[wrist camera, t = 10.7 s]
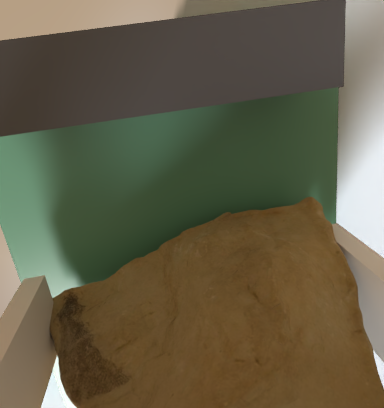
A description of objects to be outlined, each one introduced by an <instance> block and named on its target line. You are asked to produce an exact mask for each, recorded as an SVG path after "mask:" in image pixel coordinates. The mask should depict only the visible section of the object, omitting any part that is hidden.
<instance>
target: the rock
mask: <svg viewBox="0 0 384 408" xmlns="http://www.w3.org/2000/svg"><path fill="white" fill-rule="evenodd" d="M52 299H53V309H52V315H51V320H50V332H51V335H52V337H53V339H54V344H55V351H56V354H57V357H58V364H59V372H60V379H61V382H62V385H63V388H64V390H65V393H66V395H67V396H68V398H69V399H70V401H71V402H72V404H73V405H74V406H75V407H76V408H384V389H383V386H382V383H381V380H380V377H379V374H378V371H377V367H376V363H375V359H374V354H373V347H372V345H371V343H370V340H369V338H368V336H367V334H366V331H365V329H364V325H363V317H362V312H361V310H360V307H359V301H358V286H357V283H356V280H355V278H354V275H353V273H352V271H351V269H350V267H349V265H348V262H347V259H346V257H345V256H344V254H343V252H342V251H341V249H340V247H339V246H338V244H337V242H336V240H335V236H334V232H333V226H332V224H331V222H329V221H328V220H327V219H326V218H325V216H324V213H323V207H322V205H321V203H319V202H318V201H317V200H316V199H314V198H313V197H307V198H305V199H303V200H302V201H300V202H299V203H297V204H295V205H290V206H282V207H275V208H269V209H266V210H247V211H243V212H238V213H234V214H231V213H230V212H226V213H224V214H222V215H221V216H219V217H217V218H216V219H214V220H212V221H209V222H207V223H205V224H202V225H199V226H196V227H194V228H190V229H187V230H185V231H183V232H182V233H181V234H180V235H179V236H177V237H175V238H173V239H171V240H168V241H167V242H165V243H163V244H162V245H161V246H160V247H159V249H158V250H156V251H153V252H151V253H149V254H147V255H146V256H144V257H140V258H135V259H134V260H132V261H131V262H129V263H127V264H126V265H124V266H123V267H121V268H120V269H119V270H118V271H117V272H116V273H115V274H113V275H112V276H110V277H109V278H107V279H105V280H103V281H98V282H93V283H89V284H86V285H83V286H80V287H74V288H70V289H68V290H64V291H63V292H62V293H60V294H59V295H57V296H56V297H54V298H52Z"/></svg>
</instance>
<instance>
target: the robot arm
mask: <svg viewBox="0 0 384 408" xmlns="http://www.w3.org/2000/svg"><path fill="white" fill-rule="evenodd" d="M332 226H333V232H334V236H335V240H336V242H337V244H338V246H339V247H340V249H341V251H342V252H343V254H344V256H345V257H346V259H347V262H348V265H349V267H350V269H351V271H352V273H353V275H354V278H355V280H356V283H357V286H358V301H359V307H360V310H361V312H362V317H363V325H364V329H365V331H366V334H367V336H368V338H369V340H370V343H371V345H372V347H373V350H374V351H375V352H376V354H377V355H378V356H379V357H380V358H381V359H382V361H383V362H384V258H383V257H381V256H380V255H379V254H377V253H376V252H375V251H373V250H372V249H371V248H369V247H368V246H367V245H365V244H364V243H363V242H361V241H360V240H359V239H357V238H356V237H355V236H353V235H352V234H351V233H349V232H348V231H347V230H345V229H344V228H343V227H341V226H340V225H339V224H337V223H336V224H332ZM52 309H53V299H52V296H51V293H50V290H49V286H48V283H47V280H46V277H45V275H43V276H37V277H32V278H26V279H24V280H23V281H22V283H21V285H20V286H19V288H18V290H17V291H16V293H15V295H14V296H13V298H12V300H11V301H10V303H9V305H8V306H7V308H6V310H5V311H4V313H3V315H2V316H1V318H0V408H41V405H42V402H43V398H44V395H45V392H46V389H47V386H48V383H49V379H50V376H51V373H52V370H53V367H54V364H55V360H56V357H57V354H56V351H55V344H54V339H53V337H52V335H51V332H50V320H51V315H52Z"/></svg>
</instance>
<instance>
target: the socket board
mask: <svg viewBox="0 0 384 408" xmlns="http://www.w3.org/2000/svg"><path fill="white" fill-rule="evenodd" d="M345 4H346V0H320V1H312V2H304V3H296V4H288V5H280V6H272V7H264V8H256V9H248V10H240V11H232V12H224V13H216V14H208V15H200V16H192V17H185V18H177V19H169V20H161V21H153V22H145V23H137V24H130V25H121V26H113V27H105V28H97V29H90V30H82V31H74V32H65V33H57V34H50V35H41V36H34V37H26V38H18V39H10V40H2V41H0V225H1V228H2V231H3V233H4V236H5V239H6V242H7V245H8V247H9V250H10V253H11V256H12V258H13V261H14V264H15V267H16V270H17V273H18V276H19V278H20V281H21V283H22V281H23V280H24V279H26V278H32V277H37V276H43V275H45V277H46V280H47V283H48V286H49V290H50V293H51V296H52V298H54V297H56V296H57V295H59V294H60V293H62V292H63V291H64V290H68V289H70V288H74V287H80V286H83V285H86V284H89V283H93V282H98V281H103V280H105V279H107V278H109V277H110V276H112V275H113V274H115V273H116V272H117V271H118V270H119V269H120V268H121V267H123V266H124V265H126V264H127V263H129V262H131V261H132V260H134V259H135V258H140V257H144V256H146V255H147V254H149V253H151V252H153V251H156V250H158V249H159V247H160V246H161V245H162V244H163V243H165V242H167V241H168V240H171V239H173V238H175V237H177V236H179V235H180V234H181V233H182V232H183V231H185V230H187V229H190V228H194V227H196V226H199V225H202V224H205V223H207V222H209V221H212V220H214V219H216V218H217V217H219V216H221V215H222V214H224V213H226V212H230V213H231V214H234V213H238V212H243V211H247V210H266V209H269V208H275V207H282V206H290V205H295V204H297V203H299V202H300V201H302V200H303V199H305V198H307V197H313V198H314V199H316V200H317V201H318V202H319V203H321V205H322V207H323V213H324V216H325V218H326V219H327V220H328V221H329V222H331V224H336V190H337V140H338V90H339V87H343V85H344V44H345ZM52 371H53V374H54V376H55V379H56V382H57V385H58V388H59V390H60V393H61V396H62V399H63V402H64V404H65V407H66V408H76V407H75V406H74V405H73V404H72V402H71V401H70V399H69V398H68V396H67V395H66V393H65V390H64V388H63V385H62V382H61V379H60V372H59V364H58V357H56V360H55V364H54V367H53V370H52Z"/></svg>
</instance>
